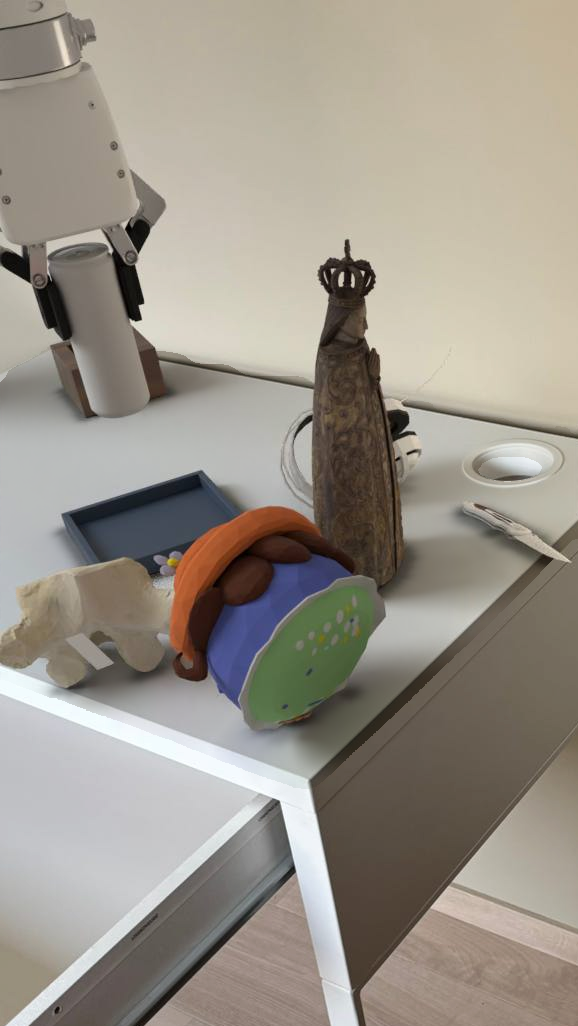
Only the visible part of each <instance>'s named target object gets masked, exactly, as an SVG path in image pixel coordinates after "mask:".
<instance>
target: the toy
mask: <svg viewBox="0 0 578 1026" xmlns="http://www.w3.org/2000/svg"><path fill="white" fill-rule="evenodd" d="M169 558H170V559H169V560H168V559H167V558H166V557H164V556H161V555H155V556H154V560H155V561H156V562H157V563H158V564H159V565H162V567H161V568H160V571H159V572H160V575H163V576H164V577H166V578H168V577H173V576H174V579H173V589H174V592H175V594H174V600H173V606H172V611H171V617H170V636H169V644H170V646H171V647H172V648H173V650H174V651H175V652H176V653H177V654H176V655H175V657H174V658H173V660H172V664H171V666H172V669H173V671H174V674H175V675H176V676H177V677H178V678H180V679H183V680H186V681H189V682H195V683H199V682H202V681H205V680H206V679H207V678H208V675H209V674H210V675H211V677H212V678H213V680H214V682H215V684H216V688H217V690H218V693H219V694H218V695H217V697H218V696H219V695H220V694H223V695H224V696H225V697H226V698H227V699H228V700H229V701H231V703H232V704H233V705H234V706H235V707H236V708H238V709H239V710H240V711H241V715H242V719H243V722H244V724H245V725H246V726H247V728H249V730H251V731H261V730H265V729H272V730H275V729H276V730H277V729H278V728H280V727H281V726H282V725H284V724H290V723H292V722H294V721H296V722H298V721H300V720H302V719H306V718H308V717H310V716H311V715H312V713H313V710H314V709H315V708H316V707H317V706H319V705H320V704H322V703H323V702H325V701H326V700H327V699H329V698H330V697H331V696H332V695H335V694H336V693H338V692H340V691H342V690H345V688H346V686H347V684H348V682H349V680H350V678H351V675H352V674H353V672H354V670H355V668H356V667H357V664H358V663H359V662H360V659H361V658H362V656H363V654H364V652H365V651H366V649H367V647H368V642H369V639H370V638H371V636H372V635H373V634H374V632H375V631H376V630H377V628H378V627H379V626H380V625H381V623H383V622H384V620H385V619H386V618H387V612H386V604H385V601H384V600H383V598H382V596H381V595H380V593H378V588H377V584H376V582H375V581H374V579H372V578H368V577H365V576H362V575H356V576H353V575H352V574H353V573H354V572H355V568H356V565H355V563H354V561H353V559H352V558H351V557H350V556H349V555H348V554H346V553H345V552H344V551H342V550H340V549H337V548H335V547H334V546H333V545H332V544H331V543H330V542H329V541H328V540H326V539H324V538H323V537H322V535H321V533H320V531H319V529H318V528H317V527H316V526H315V523H313V522H312V521H311V520H309V518H307V517H306V516H305V515H304V514H302V513H300V512H298V511H297V510H295V509H293V508H289V507H285V506H281V505H267V506H263V507H259V508H255V509H250V510H246V511H244V512H243V513H242V514H241V515H240V516H238V517H237V518H235V519H233V520H232V521H230V522H229V523H225V524H222V525H220V526H217V527H215V528H212V529H211V530H210V531H208V532H207V533H205V534H204V535H203V536H201V537H200V538H199V539H197V540H196V541H195V542H194V543H193V545H192V546H191V547H190V548H189V549H188V550H187V552H186V553H185V554H184V555H182V554H181V553H180V552H176V551H174V552H172V553H171V554H170V555H169ZM65 640H66V641H67V642H68V643H69V644H71V645H72V646H73V647H74V648H75V649H76V650H77V651H78V652H79V653H80V654H81V655H82V656H83V657H84V658H85V659H86V660H87V661H88V663H89V664H90V665H92V666H93V667H94V669H96V671H99V670H101V669H103V668H106V667H109V666H111V665H114V664H115V662H114V661H113V660H112V659H111V658H110V657H108V655H107V654H105V653H104V651H102V650H101V649H100V648H99V646H96V645H95V644H93V643H92V642H91V641H90V640H89V639H88V638H87V637H86V636H85V635H84V634H83V633H80V634H77V635H75V636H72V637H69V638H67V639H65ZM181 658H183V659H184V660H185V661H187V662H189V663H192V664H191V667H188V668H187V667H185V666H184V665H183V663H182V661H181Z"/></svg>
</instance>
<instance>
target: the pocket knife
mask: <svg viewBox="0 0 578 1026" xmlns="http://www.w3.org/2000/svg"><path fill="white" fill-rule="evenodd" d="M461 509H462V511H463V513H464V514H465V515H467V516H470V517H473V518H475V519H477V520H480V521H481V522H483V523H485V524H487V525H488V526H489V527H490V528H492V529H493V530H494V531H500V532H502V533H504V534H505V536H506V537H507V539H509V540H518V541H520V542H521V543H523V544H525V545H527V546H528V547H530V548H532V549H534V550H535V551H537V552H539V553H541V554H543V555H545V556H547V557H549V558H552V559H555V560H558V561H561V562H562V561H563V562H566V563H571V564H572V561H571V560H570V559H568V558H567V557H566V556H564V555H563V554H562V553H560V552H559V551H557V550H556V549H555V548H554V547H552V546H550V545H549V544H547V543H546V542H544V541H543V540H542V539H541V538H539V536H538V535H536V534H533V533H532V530H531V529H529V528H527V527H526V526H523V525H522V524H520V523H518V522H517V521H514V520H513V519H512V518H510V517H507V516H505V515H503V514H502V513H499V512H497V511H496V510H493V509H492V508H489V507H487V506H484V505H482V504H479V503H475V502H472V501H467V500H466V501H463V502H462V506H461Z"/></svg>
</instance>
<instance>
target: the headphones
mask: <svg viewBox="0 0 578 1026" xmlns="http://www.w3.org/2000/svg"><path fill="white" fill-rule="evenodd" d="M454 347H455V344H454V343H453V344H452V346H451V348H450V349H449V352H448V354H447V356H446V357H445V359H444V361H443V362H442V364H441V365H440V367H439V368H437V370H436V371H435V372H434V373H433V374H432V376H430V378H429V379H427V380H426V381H425V382H424V383H423V384H422V385H420V386H419V387H418V388H417V389H416V390H415V391H413V392H412V393H410V394H409V395H407V396H406V397H404V398H403V399H402V400H398V399H395V398H393V397H388V398H384V402H385V407H386V410H387V417H388V420H389V424H390V432H391V436H392V440H393V447H394V451H395V461H396V465H397V473H398V483H399V485H401V484H402V483H403V482H405V480H406V479H407V477H408V473H409V472H410V471H411V470H412V469H413V468H414V467H415V466H416V464H418V461H419V458H420V457H421V455H422V454H423V447H422V444H421V442H420V440H419V436H418V434H417V433H416V432H415V430H405V429H407V427H408V426H409V425H410V414H409V412H408V411H407V409H406V408H405V407H404V405H403V404H402V403H403V402H404V401H405V400H407V399H409V398H410V397H411V396H413V395H414V394H416V393H417V392H418V391H419V390H420V389H422V388H424V386H425V385H427V384H428V383H429V382H430V381H432V379H433V378H434V377H435V376H436V375H437V374H438V373H439V372H440V370H441V369H442V368H443V367H444V365H445V363H446V362H447V361H448V359H449V358H450V355H451V354H452V351H453V349H454ZM309 412H310V413H309ZM306 413H307V414H306ZM305 414H306V415H305ZM302 415H305V416H304V417H302V418H301V419H300V417H301V416H302ZM312 421H313V407H311V408H308V409H306V410H303V411H301V412H299V413H298V414H297V416H296V417H295V418H294V419H293V420H292V422H291V423H290V424H289V425H288V427H287V430H286V433H285V434H284V437H283V440H282V445H281V448H280V450H279V470H280V473H281V476H282V479H283V483H284V484H285V485H286V487H287V489H288V490H289V492H291V494H292V496H294V498H296V499H297V500H298V501H300V502H302V503H303V504H304V505H306V506H307V507H308V508H310V509H313V510H314V506H313V505H312V504H310V503H308V502H307V501H306V500H304V499H303V498H301V497H300V496H299V495H298V494H296V492H295V491H294V489H293V488H292V486H291V485H290V484H289V482H288V480H287V478H288V479H289V481H290V482H291V483H292V485H293V487H294V488H295V489H296V490H297V491H298V492H300V493H301V494H303V495H304V496H305V497H306V498H308V499H309V500H311V501H312V502H313V486H312V484H311V483H309V482H308V481H307V480H306V478H305V476H304V475H303V474H302V472H301V471H300V469H299V467H298V464H297V461H296V458H295V449H294V445H295V440H296V438H297V436H298V434H299V433H300V432H301V431H302V430H303V429H304V428H305V427H306V426H307V425H309V424H310V423H312ZM291 433H292V437H291V440H290V443H289V449H288V455H287V457H288V465H289V466H288V467H289V469H288V467H287V464H286V461H285V457H286V456H285V451H286V450H285V449H286V444H287V441H288V439H289V436H290V434H291ZM283 468H284V469H283ZM289 470H290V472H289ZM284 471H285V472H284ZM290 473H291V475H292V476H291V475H290ZM285 474H286V475H285ZM286 476H287V478H286Z"/></svg>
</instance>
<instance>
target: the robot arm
mask: <svg viewBox="0 0 578 1026" xmlns="http://www.w3.org/2000/svg"><path fill="white" fill-rule="evenodd" d="M94 42H97V33H96V29H95V25H94V23H93V21H92V19H91V18H86V19H80V18H78V17H77V18H75V17H74V16H73V15H72V13H71V12H69V10H68V7H67V2H66V0H0V233H2V234H3V236H4V238H5V239H6V240H7V242H9V243H11V244H12V245H17V246H20V253H21V255H20V254H18V253H17V252H14V251H13V249H10V248H8V247H5V246H2V245H1V244H0V267H1V268H4V269H5V270H7V272H10V273H11V274H13V275H15V276H17V277H19V278H20V279H22V280H24V281H25V282H27V284H30V285H31V286H32V290H33V293H34V297H35V300H36V303H37V306H38V310H39V312H40V315H41V319H42V321H43V324H44V327H45V328H46V329H47V330H52V329H53V330H54V332H55V334H56V335H58V337H59V338H60V339H61V340H62V342H64V341H68V340H70V337H72V334H71V331H70V327H69V324H68V321H67V317H66V314H65V311H64V307H63V304H62V301H61V297H60V294H59V291H58V288H57V286H56V285H55V284H54V283H53V282H52V280H51V277H50V274H49V273H48V260H47V256H48V254H47V253H48V251H47V243H48V242H52V241H56V240H61V239H64V238H69V237H73V236H77V235H81V234H85V233H89V232H92V231H93V232H95V231H97V230H100V231H101V232H102V235H103V237H104V238H105V240H106V242H107V243H108V245H109V247H110V249H111V250H112V251H111V255H112V257H113V259H114V263H115V267H116V271H117V274H118V278H119V282H120V285H121V289H122V293H123V297H124V300H125V304H126V308H127V312H128V315H129V319H130V321H131V322H133V321H134V322H135V323H138V322H141V321H143V317H142V313H141V308H140V306H141V305H145V298H144V293H143V290H142V289H143V288H142V286H141V282H140V278H139V274H138V271H137V267H136V264H138V262H139V259H140V257H139V254H140V253H141V251H142V249H143V247H144V245H145V243H146V241H147V240H148V237H149V236H150V234H151V230H152V228H153V227H154V226H155V225H156V224H157V223H158V221H159V220H160V217H161V216H162V215H163V214H164V213H165V211H166V209H167V201H166V200H165V198H163V196H161V195H160V194H159V193H158V192H157V191H155V190H154V188H152V187H151V186H150V185H149V183H147V182H146V181H145V180H143V178H141V177H140V176H139V175H138V174H137V173H135V172H134V171H133V169H131V168H130V166H129V162H128V160H127V156H126V153H125V150H124V147H123V144H122V142H121V139H120V135H119V133H118V129H117V126H116V124H115V121H114V118H113V115H112V111H111V109H110V107H109V105H108V102H107V99H106V96H105V93H104V91H103V89H102V87H101V83H100V82H99V80H98V77H97V75H96V73H95V71H94V68H93V66H92V64H90V63H89V62H87V61H81V60H82V59H83V54H82V51H83V47H86V46H87V44H89V43H94ZM138 202H139V203H138ZM138 204H139V206H138ZM125 222H127V224H126V225H125V226H124V225H123V223H125Z"/></svg>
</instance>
